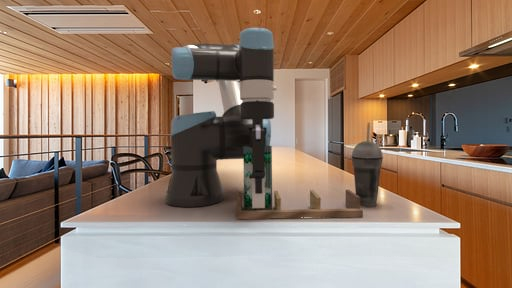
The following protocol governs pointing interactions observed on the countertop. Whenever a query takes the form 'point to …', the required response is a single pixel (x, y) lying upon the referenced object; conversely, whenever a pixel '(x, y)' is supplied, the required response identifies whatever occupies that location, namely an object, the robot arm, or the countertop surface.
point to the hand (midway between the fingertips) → (258, 203)
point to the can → (248, 181)
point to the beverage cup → (367, 171)
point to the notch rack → (315, 210)
